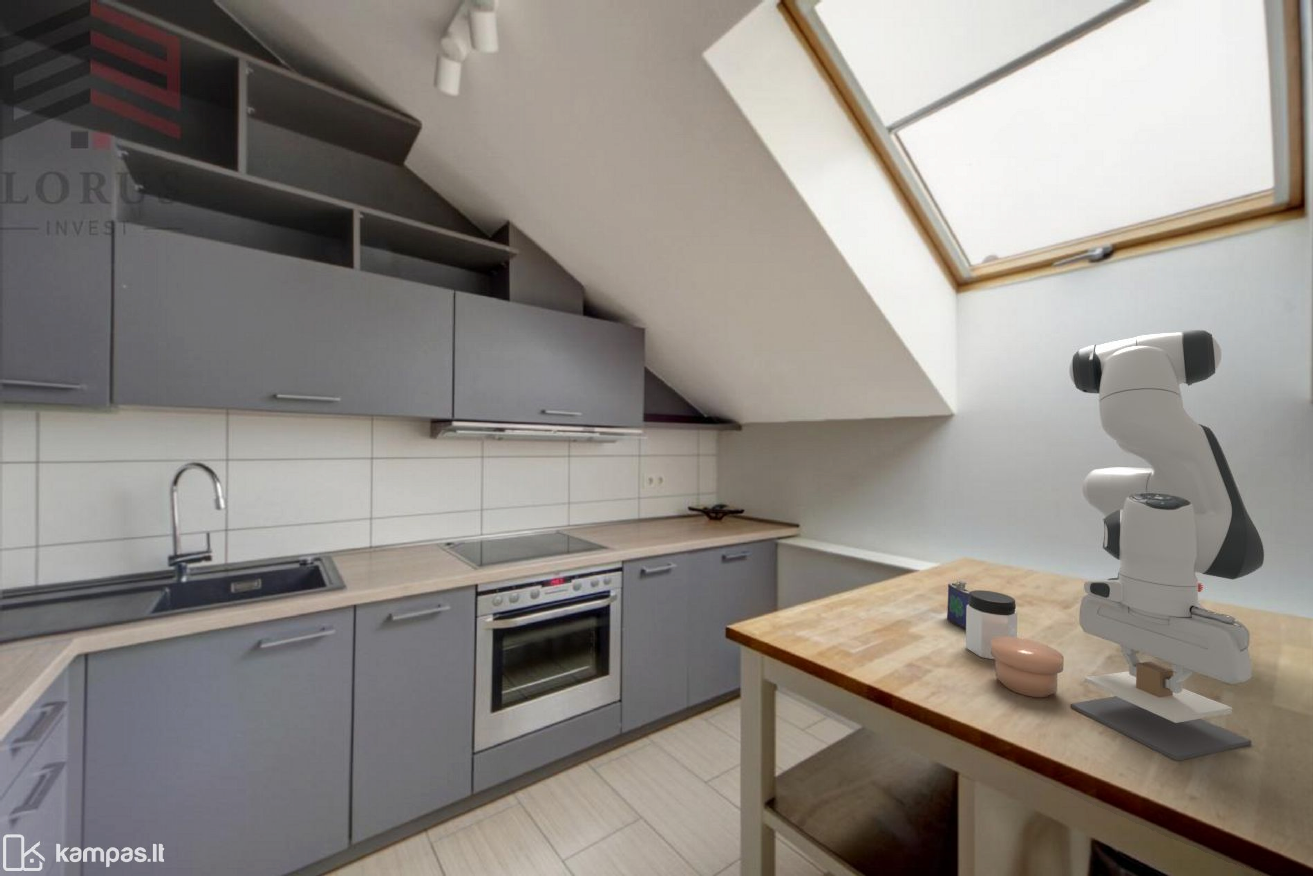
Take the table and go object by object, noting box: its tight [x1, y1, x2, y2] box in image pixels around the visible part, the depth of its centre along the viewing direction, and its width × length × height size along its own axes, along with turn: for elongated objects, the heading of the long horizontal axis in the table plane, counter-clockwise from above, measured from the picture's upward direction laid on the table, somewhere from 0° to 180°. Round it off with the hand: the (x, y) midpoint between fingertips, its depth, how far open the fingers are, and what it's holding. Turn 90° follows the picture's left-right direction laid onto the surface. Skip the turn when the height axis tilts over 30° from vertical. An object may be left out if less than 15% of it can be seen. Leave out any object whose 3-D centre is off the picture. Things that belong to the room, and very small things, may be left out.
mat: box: [1069, 695, 1252, 762], centre depth 78 cm, size 16×14×1 cm
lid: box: [1084, 661, 1233, 723], centre depth 78 cm, size 12×12×5 cm
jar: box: [965, 589, 1018, 661], centre depth 103 cm, size 9×8×12 cm
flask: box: [946, 580, 972, 631], centre depth 119 cm, size 9×3×11 cm, turn 2°
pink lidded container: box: [991, 637, 1065, 698], centre depth 89 cm, size 11×11×7 cm
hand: (1154, 683), depth 78 cm, fingers closed on lid, 3 cm apart
